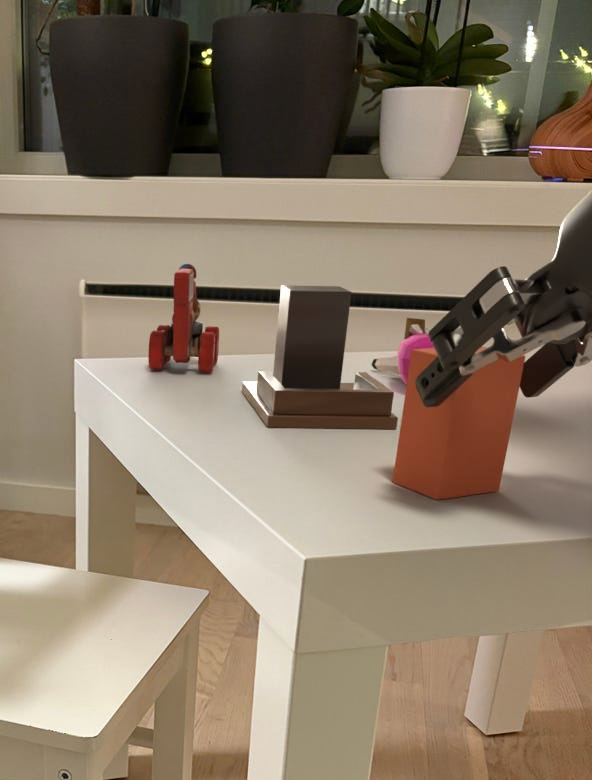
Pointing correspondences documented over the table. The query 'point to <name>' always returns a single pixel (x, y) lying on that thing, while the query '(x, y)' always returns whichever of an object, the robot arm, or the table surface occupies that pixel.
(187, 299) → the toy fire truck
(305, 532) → the table surface
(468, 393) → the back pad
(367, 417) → the brown wooden stand
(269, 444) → the table surface
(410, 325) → the toy
